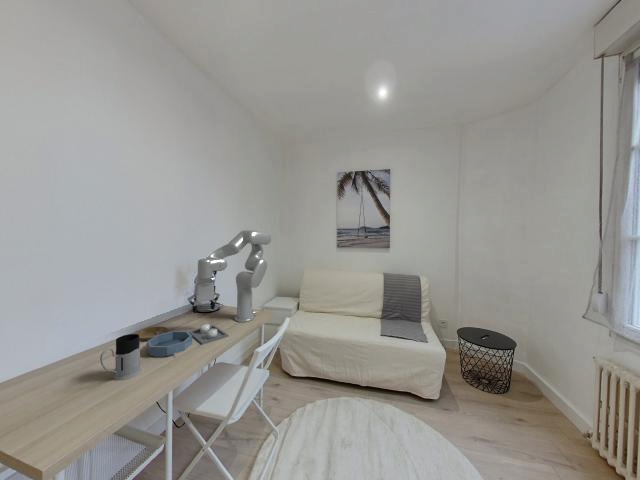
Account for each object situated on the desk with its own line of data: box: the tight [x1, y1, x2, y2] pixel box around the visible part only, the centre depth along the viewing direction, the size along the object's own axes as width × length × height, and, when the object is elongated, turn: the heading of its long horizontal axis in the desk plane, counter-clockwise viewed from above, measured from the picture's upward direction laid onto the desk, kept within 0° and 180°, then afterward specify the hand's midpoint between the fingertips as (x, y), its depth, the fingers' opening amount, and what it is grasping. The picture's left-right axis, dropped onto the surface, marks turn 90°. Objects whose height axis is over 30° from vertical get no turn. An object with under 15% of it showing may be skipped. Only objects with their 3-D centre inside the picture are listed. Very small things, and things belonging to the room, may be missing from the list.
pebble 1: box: [199, 323, 211, 334], centre depth 141 cm, size 5×5×4 cm
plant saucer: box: [135, 326, 169, 342], centre depth 136 cm, size 15×15×3 cm
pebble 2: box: [207, 329, 217, 340], centre depth 134 cm, size 5×5×4 cm
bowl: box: [146, 330, 193, 358], centre depth 123 cm, size 18×18×5 cm
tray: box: [188, 324, 229, 345], centre depth 137 cm, size 14×19×2 cm
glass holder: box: [99, 333, 142, 381], centre depth 98 cm, size 9×14×15 cm, turn 164°
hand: (203, 310), depth 140 cm, fingers open, 9 cm apart
